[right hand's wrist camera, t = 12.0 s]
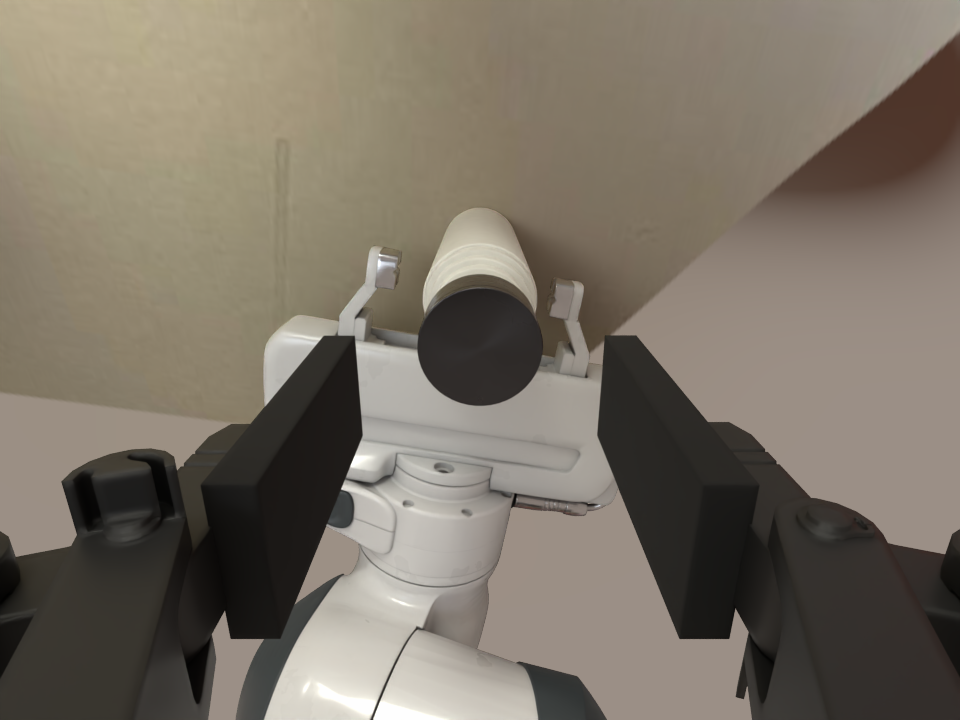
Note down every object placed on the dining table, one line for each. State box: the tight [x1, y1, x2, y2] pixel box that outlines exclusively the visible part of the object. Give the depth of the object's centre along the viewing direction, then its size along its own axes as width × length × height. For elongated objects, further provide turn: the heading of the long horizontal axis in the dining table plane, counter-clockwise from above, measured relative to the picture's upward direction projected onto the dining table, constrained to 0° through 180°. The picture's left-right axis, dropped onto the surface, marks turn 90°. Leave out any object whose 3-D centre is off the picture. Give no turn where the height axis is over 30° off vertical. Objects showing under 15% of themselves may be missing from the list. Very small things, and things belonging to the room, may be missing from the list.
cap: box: [417, 274, 543, 406], centre depth 18 cm, size 4×4×2 cm
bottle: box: [423, 207, 537, 313], centre depth 26 cm, size 4×4×19 cm
